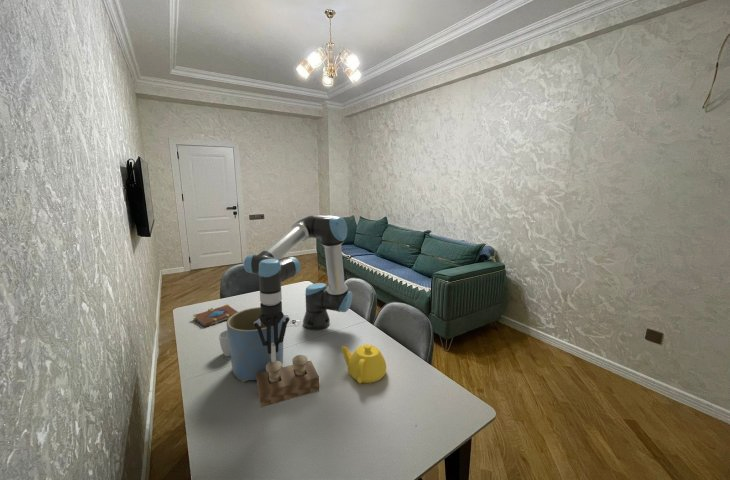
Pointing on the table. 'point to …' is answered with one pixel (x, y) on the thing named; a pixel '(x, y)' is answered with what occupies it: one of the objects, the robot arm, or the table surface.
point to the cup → (224, 343)
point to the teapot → (365, 363)
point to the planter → (249, 344)
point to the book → (214, 315)
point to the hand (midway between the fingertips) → (273, 360)
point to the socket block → (287, 384)
